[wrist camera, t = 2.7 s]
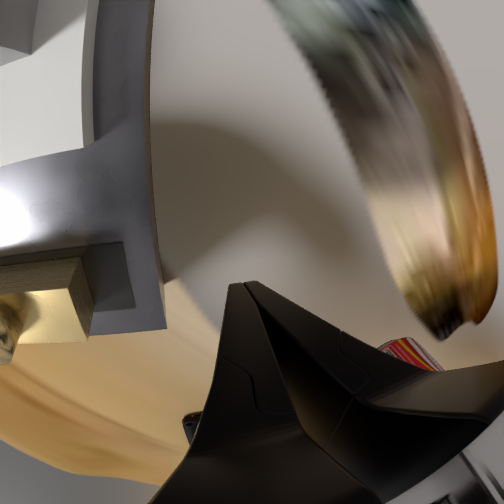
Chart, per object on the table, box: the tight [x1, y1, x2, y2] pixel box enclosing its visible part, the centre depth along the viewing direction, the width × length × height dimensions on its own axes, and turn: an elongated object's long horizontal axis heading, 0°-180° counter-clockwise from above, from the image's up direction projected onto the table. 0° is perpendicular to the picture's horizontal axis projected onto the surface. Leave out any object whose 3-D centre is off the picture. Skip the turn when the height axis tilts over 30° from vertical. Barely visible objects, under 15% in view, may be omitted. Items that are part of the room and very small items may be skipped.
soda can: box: [377, 337, 444, 371], centre depth 18 cm, size 7×7×12 cm
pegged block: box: [0, 257, 95, 365], centre depth 7 cm, size 2×6×3 cm, turn 88°
